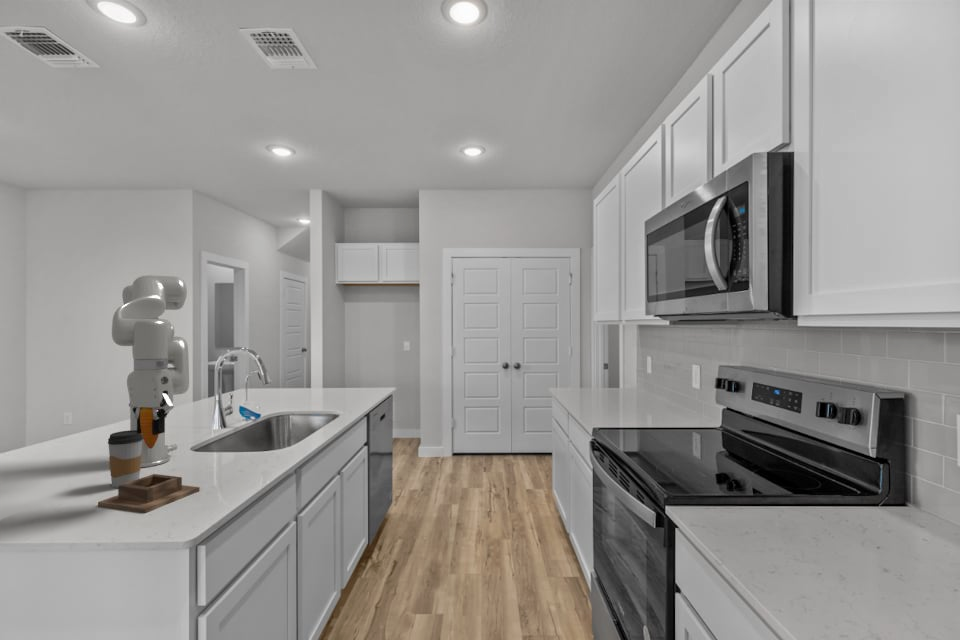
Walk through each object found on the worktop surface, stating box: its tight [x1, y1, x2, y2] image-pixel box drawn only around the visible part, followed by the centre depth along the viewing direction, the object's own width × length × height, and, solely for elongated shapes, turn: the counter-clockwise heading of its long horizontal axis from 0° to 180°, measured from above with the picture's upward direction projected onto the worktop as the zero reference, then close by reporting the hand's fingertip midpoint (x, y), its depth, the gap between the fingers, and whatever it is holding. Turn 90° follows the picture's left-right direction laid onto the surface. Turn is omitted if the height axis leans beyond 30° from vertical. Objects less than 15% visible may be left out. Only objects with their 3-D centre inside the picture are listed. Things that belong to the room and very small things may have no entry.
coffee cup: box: [107, 430, 143, 489], centre depth 138 cm, size 8×8×15 cm
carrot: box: [140, 408, 161, 449], centre depth 128 cm, size 5×5×15 cm
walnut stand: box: [97, 473, 201, 514], centre depth 128 cm, size 16×16×4 cm
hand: (150, 432), depth 128 cm, fingers closed on carrot, 4 cm apart
